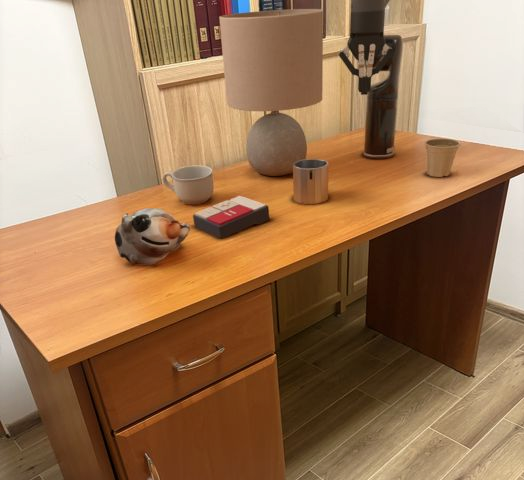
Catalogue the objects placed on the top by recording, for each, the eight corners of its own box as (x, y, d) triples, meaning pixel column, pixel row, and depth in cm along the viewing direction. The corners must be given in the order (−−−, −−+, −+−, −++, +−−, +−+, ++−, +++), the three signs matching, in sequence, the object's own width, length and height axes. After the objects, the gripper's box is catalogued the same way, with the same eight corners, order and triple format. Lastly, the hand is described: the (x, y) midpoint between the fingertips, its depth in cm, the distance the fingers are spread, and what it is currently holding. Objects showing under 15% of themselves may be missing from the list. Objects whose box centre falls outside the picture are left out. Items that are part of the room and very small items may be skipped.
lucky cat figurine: (183, 238, 124) (193, 192, 113) (181, 279, 117) (192, 234, 106) (116, 227, 120) (120, 179, 109) (110, 268, 114) (114, 221, 102)
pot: (327, 156, 141) (293, 157, 142) (329, 169, 132) (292, 171, 132) (326, 190, 146) (293, 191, 147) (328, 205, 137) (293, 206, 137)
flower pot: (452, 168, 156) (456, 137, 151) (458, 178, 148) (463, 146, 143) (419, 169, 157) (422, 138, 152) (423, 179, 149) (427, 147, 144)
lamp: (325, 158, 172) (326, 7, 148) (317, 185, 150) (318, 13, 127) (243, 159, 176) (232, 12, 153) (224, 185, 155) (208, 19, 131)
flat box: (191, 212, 128) (240, 192, 135) (194, 229, 130) (242, 209, 137) (219, 223, 121) (268, 202, 128) (221, 241, 123) (270, 219, 130)
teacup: (222, 196, 147) (219, 166, 143) (202, 209, 139) (199, 178, 135) (179, 191, 152) (175, 163, 148) (158, 204, 144) (153, 174, 140)
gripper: (395, 5, 121) (389, 89, 131) (336, 9, 122) (335, 92, 132) (401, 7, 115) (394, 95, 125) (338, 11, 116) (336, 98, 126)
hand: (363, 94), depth 128 cm, fingers closed
